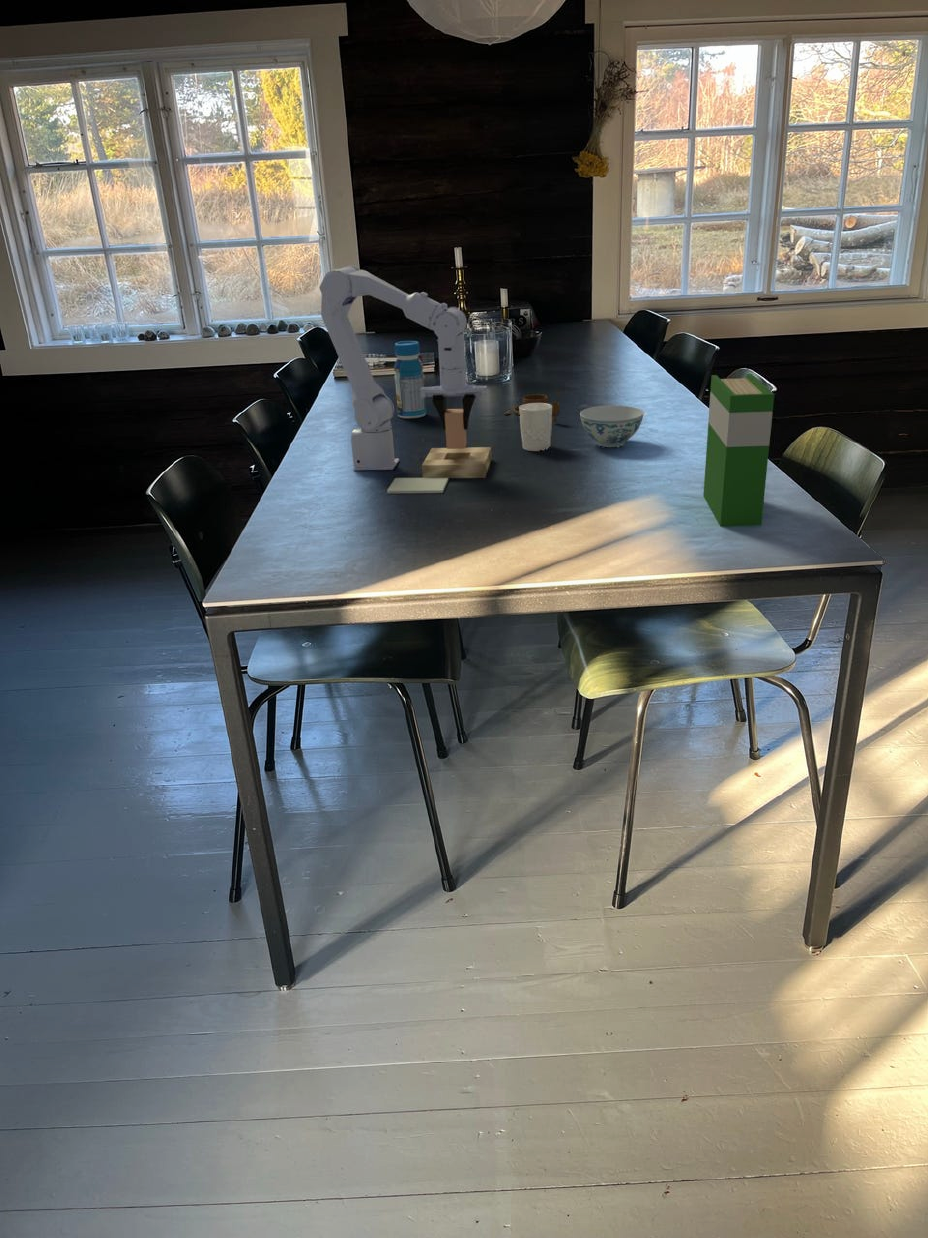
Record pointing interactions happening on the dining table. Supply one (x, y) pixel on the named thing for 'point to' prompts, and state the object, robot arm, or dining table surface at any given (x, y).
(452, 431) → the terracotta block
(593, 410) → the chinaware
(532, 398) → the place setting
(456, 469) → the pocket block
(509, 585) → the dining table surface
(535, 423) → the white cup
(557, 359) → the dining table surface
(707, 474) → the hardback book
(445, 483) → the mat
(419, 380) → the beverage bottle
